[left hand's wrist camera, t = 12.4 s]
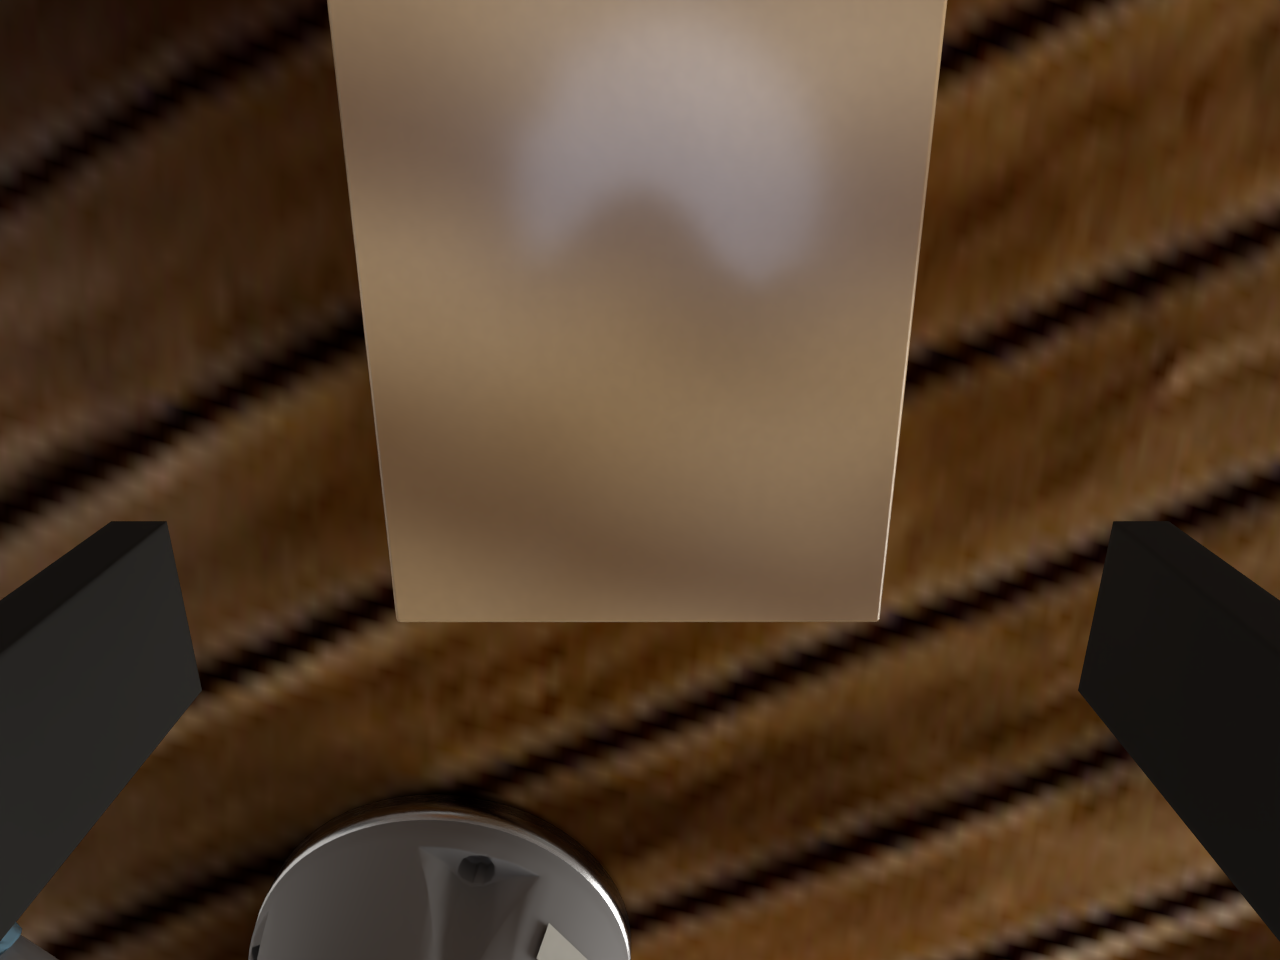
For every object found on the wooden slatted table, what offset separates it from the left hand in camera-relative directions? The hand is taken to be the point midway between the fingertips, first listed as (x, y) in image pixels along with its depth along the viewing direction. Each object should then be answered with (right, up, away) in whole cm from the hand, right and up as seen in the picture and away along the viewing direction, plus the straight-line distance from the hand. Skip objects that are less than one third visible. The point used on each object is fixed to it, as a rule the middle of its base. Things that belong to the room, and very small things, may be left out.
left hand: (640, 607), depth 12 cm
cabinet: (0, +11, +14) cm, 18 cm away
